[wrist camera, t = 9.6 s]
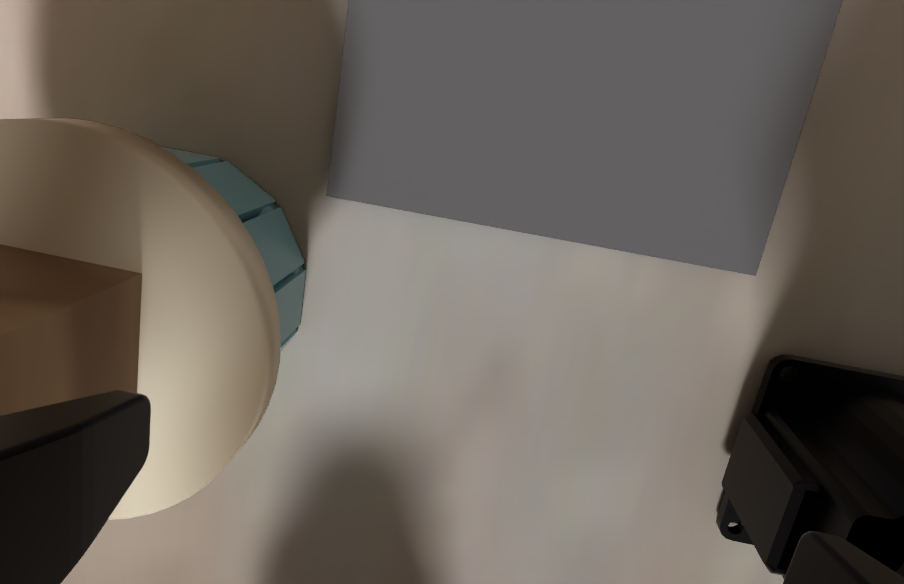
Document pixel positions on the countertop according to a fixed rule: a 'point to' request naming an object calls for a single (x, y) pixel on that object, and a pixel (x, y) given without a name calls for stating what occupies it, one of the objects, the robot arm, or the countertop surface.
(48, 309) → the wooden lid
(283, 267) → the ceramic bowl
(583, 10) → the rubber mat
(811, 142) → the countertop surface
